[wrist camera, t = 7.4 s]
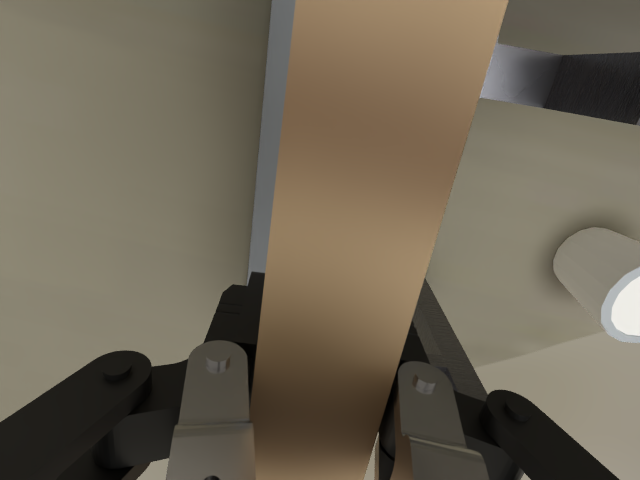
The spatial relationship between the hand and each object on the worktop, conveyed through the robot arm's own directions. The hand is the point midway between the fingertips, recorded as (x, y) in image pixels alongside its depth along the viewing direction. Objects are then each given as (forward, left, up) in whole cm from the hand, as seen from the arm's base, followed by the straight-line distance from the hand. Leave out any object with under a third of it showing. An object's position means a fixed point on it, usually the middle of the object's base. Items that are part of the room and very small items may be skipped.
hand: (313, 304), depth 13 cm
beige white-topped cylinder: (+4, +24, -18) cm, 30 cm away
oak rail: (0, 0, +1) cm, 1 cm away
